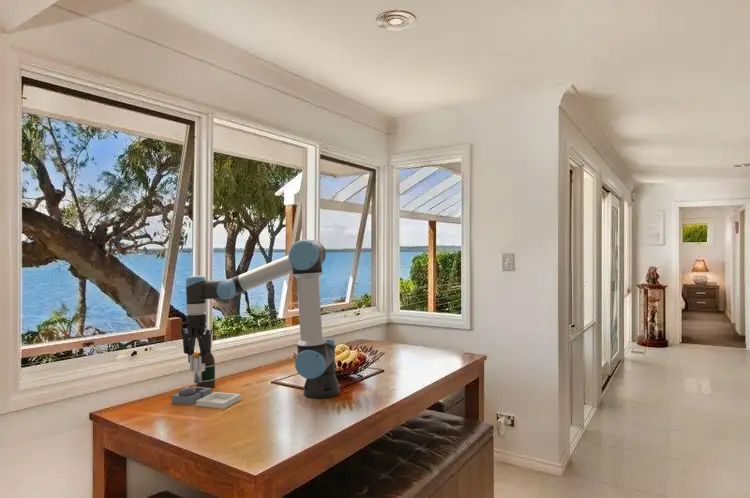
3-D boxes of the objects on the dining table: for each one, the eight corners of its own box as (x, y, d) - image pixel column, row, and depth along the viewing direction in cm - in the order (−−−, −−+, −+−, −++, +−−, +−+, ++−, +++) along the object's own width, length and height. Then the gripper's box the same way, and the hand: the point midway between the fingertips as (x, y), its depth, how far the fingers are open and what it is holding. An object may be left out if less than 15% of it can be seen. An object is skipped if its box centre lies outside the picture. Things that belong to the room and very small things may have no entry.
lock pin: (204, 381, 200) (204, 351, 200) (198, 383, 196) (198, 353, 196) (196, 380, 201) (196, 351, 201) (190, 383, 197) (190, 353, 198)
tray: (240, 401, 195) (240, 394, 195) (223, 411, 184) (223, 403, 184) (214, 399, 199) (214, 391, 199) (196, 408, 187) (196, 400, 187)
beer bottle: (209, 392, 208) (208, 336, 208) (193, 391, 210) (192, 336, 210) (218, 387, 216) (218, 333, 216) (202, 386, 217) (202, 333, 217)
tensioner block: (193, 396, 203) (193, 380, 203) (211, 397, 201) (211, 381, 201) (172, 405, 191) (171, 388, 191) (191, 407, 188) (191, 390, 188)
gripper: (219, 312, 200) (220, 369, 200) (184, 312, 205) (186, 367, 205) (208, 315, 193) (209, 374, 193) (172, 314, 198) (173, 372, 198)
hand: (197, 370), depth 199 cm, fingers closed on lock pin, 4 cm apart
